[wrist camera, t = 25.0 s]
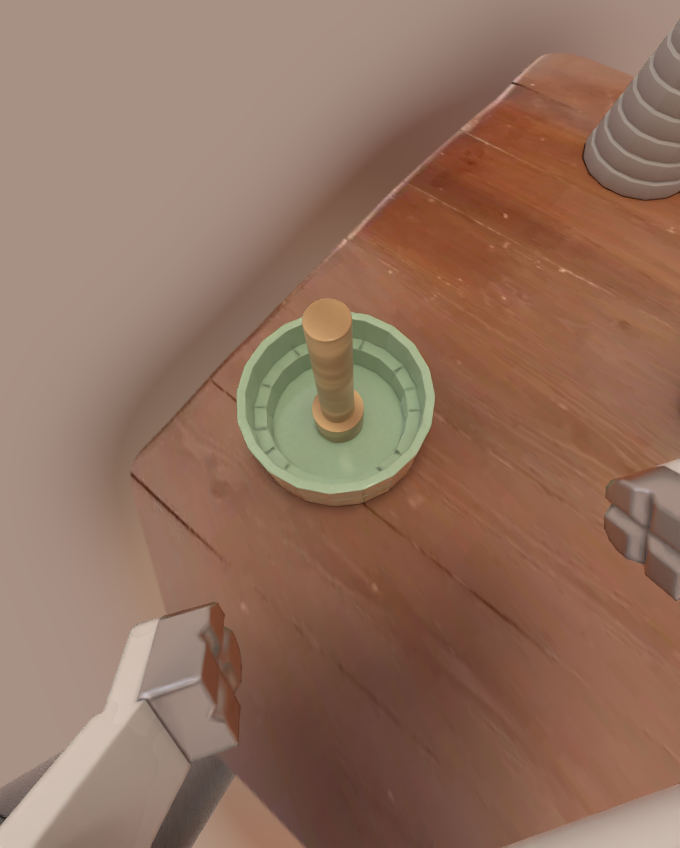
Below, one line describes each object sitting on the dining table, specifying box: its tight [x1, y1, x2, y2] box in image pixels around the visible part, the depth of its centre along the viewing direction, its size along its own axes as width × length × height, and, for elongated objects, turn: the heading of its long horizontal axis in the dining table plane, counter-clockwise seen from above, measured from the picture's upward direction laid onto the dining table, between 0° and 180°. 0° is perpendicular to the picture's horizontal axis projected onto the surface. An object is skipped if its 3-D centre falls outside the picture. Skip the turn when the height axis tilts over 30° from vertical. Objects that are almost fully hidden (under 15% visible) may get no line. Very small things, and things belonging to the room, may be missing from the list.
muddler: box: [302, 299, 364, 443], centre depth 30 cm, size 4×4×16 cm
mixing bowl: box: [237, 312, 435, 506], centre depth 35 cm, size 15×15×6 cm
